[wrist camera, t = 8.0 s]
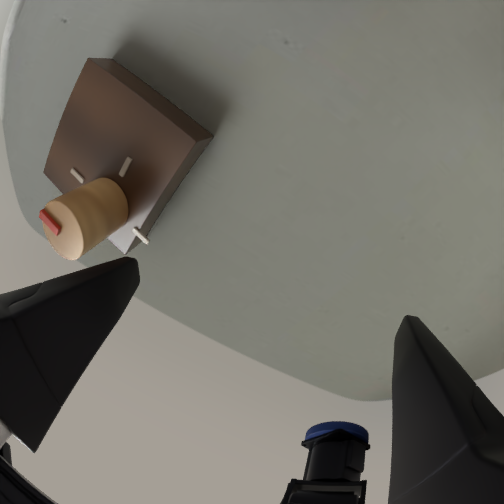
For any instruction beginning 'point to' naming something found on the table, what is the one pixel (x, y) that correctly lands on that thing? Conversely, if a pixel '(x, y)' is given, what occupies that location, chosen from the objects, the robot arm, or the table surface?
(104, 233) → the knob
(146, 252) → the table surface
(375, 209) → the table surface
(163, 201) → the panel
